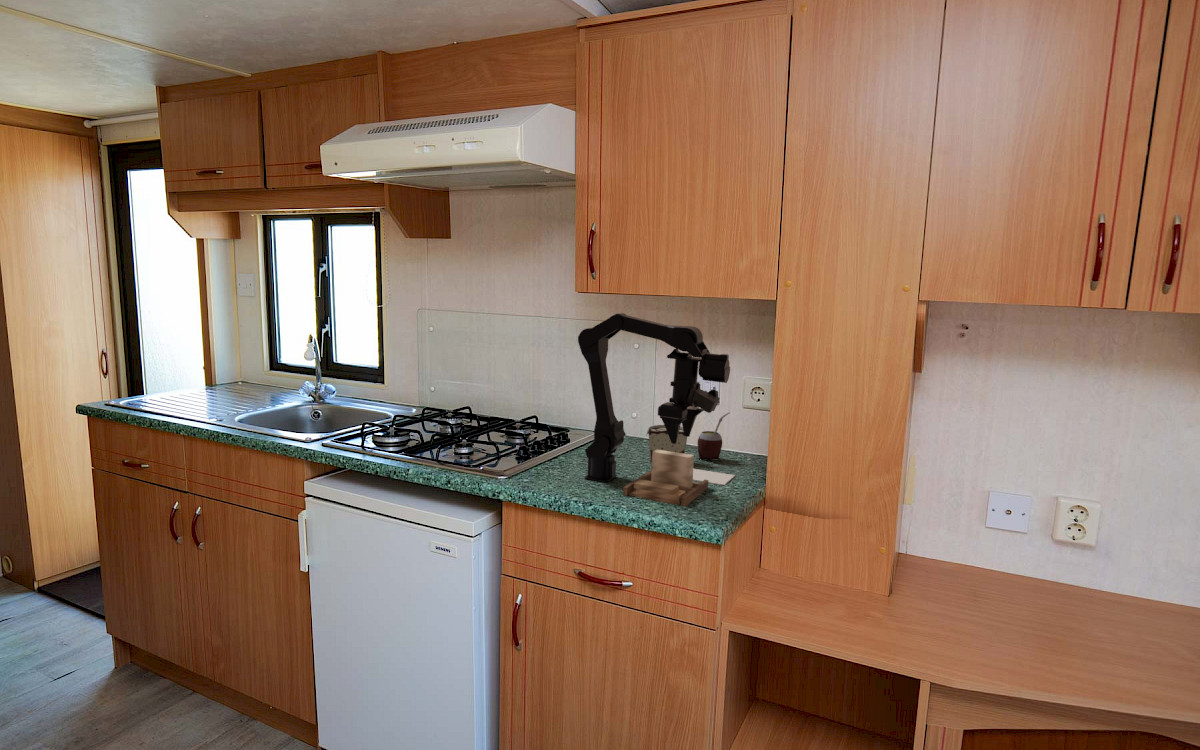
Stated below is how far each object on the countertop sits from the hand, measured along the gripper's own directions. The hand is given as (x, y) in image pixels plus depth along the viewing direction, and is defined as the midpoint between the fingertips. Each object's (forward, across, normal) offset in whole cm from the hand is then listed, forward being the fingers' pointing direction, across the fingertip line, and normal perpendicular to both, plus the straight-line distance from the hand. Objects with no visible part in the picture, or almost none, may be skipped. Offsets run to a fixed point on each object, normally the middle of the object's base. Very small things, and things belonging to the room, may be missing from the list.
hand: (680, 440), depth 176 cm
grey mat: (+13, +15, -3) cm, 20 cm away
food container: (+13, +24, +13) cm, 31 cm away
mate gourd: (+13, +33, +2) cm, 35 cm away
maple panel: (+13, +1, +2) cm, 13 cm away
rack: (+13, -3, +2) cm, 13 cm away
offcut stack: (+13, -8, +2) cm, 16 cm away
